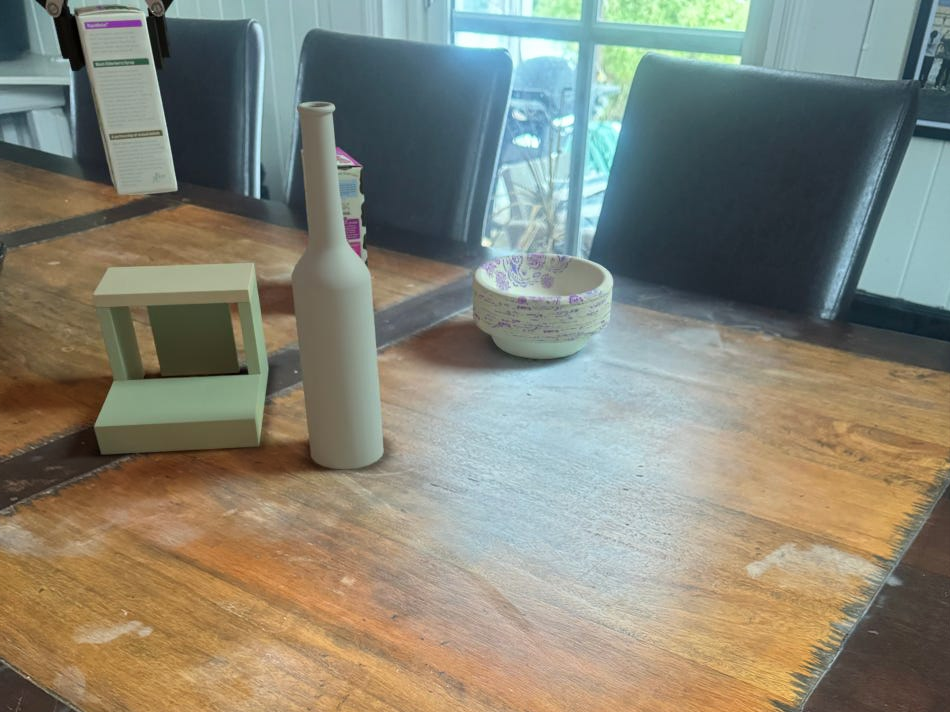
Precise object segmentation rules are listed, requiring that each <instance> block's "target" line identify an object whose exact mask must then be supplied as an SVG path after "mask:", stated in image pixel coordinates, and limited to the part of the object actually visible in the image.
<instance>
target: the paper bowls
mask: <svg viewBox="0 0 950 712" xmlns="http://www.w3.org/2000/svg"><path fill="white" fill-rule="evenodd" d="M613 287H614V279H613V275H612V274H611V272H610V271H609V270H608V269H607V268H605V267H604V266H603V265H601V264H599V263H597V262H594V261H592V260H589V259H586V258H582V257H578V256H574V255H568V254H562V253H561V254H560V253H550V252H549V253H547V252H532V253H531V252H529V253H518V254H510V255H504V256H500V257H495V258H493V259H490V260H488V261H485V262H483V263H482V264H480V265H479V266H478V267H477V268H476V269H475V271H474V273H473V275H472V319H473V322H474V324H475V325H476V327H477V328H479V330H481V331H482V332H484V333H486V334H487V335H490V336H491V339H492V340H493V342H494V343H495V345H496V346H497V348H499V349H500V350H501V351H503V352H505V353H507V354H509V355H512V356H515V357H519V358H523V359H532V360H552V359H560V358H566V357H569V356H571V355H574V354H576V353H578V352H579V351H580V350H581V349H583V348H584V347H585V346H586V344H587V343H588V341H589V340H590V338H591V337H594V336H596V335H597V334H599V333H601V332H603V331H604V330H605V329H606V328H607V327H608V326H609V323H610V320H611V311H612V302H613V301H612V300H613Z"/></svg>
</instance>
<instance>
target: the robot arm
mask: <svg viewBox="0 0 950 712" xmlns="http://www.w3.org/2000/svg"><path fill="white" fill-rule="evenodd" d="M34 1H35V2H36V3H38V4H39V6H41V7H42V8H43V9H44V10H45V11H46V13H47V14H48V15H49V17H52V19H53V23H54V29H55V33H56V35H57V41H58V46H59V49H60V54H61V56H62V59H63V60H68V62H69V67H70V70H71V71H72V72H79V71H81V70H82V69H83V68H84V67H86V65H85V60H84V56H83V51H82V46H81V42H80V37H79V32H78V28H77V23H76V18H75V15H74V14H73V13H71V9H70V7H69V6H68V4H69V0H34ZM144 2H145V4H146V6H147V15H148V16H147V17H146V23H147V28H148V34H149V39H150V44H151V49H152V55H153V60H154V65H155V69H156V70H157V71H164V70H165V69H166V67H167V59H170V58H172V48H171V42H170V36H169V30H168V23H167V18H166V12H167V11H168V9H169V8H170V6H171V5H172V3H173V2H174V0H144Z"/></svg>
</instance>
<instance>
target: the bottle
mask: <svg viewBox="0 0 950 712" xmlns="http://www.w3.org/2000/svg"><path fill="white" fill-rule="evenodd" d="M296 110H297V112H298V113H299V122H300V131H301V132H300V133H301V141H302V149H303V154H304V165H305V175H306V186H307V203H308V221H307V227H308V226H309V233H308V244H307V246H306V248H305V250H304V252H303V253H302V255H301V256H300V258H299V259H298V261H297V262H296V263H295V264H294V267H293V270H292V272H291V279H290V280H291V287H292V297H293V305H294V306H293V307H294V315H295V324H296V332H297V343H298V352H299V362H300V370H301V378H302V386H303V389H302V390H303V397H304V407H305V415H306V426H307V432H308V441H309V450H310V456H311V457H310V458H311V459H312V460H313V461H314V462H315V463H316V464H318V465H320V466H322V467H325V468H329V469H334V470H352V469H361V468H364V467H367V466H370V465H372V464H374V463H376V462H377V461H379V460H380V459H381V458H382V457H383V455H384V452H385V451H384V435H383V433H384V432H383V420H382V419H383V417H382V407H381V406H382V404H381V391H380V377H379V366H378V353H377V339H376V327H375V325H376V324H375V315H374V314H375V312H374V311H375V310H374V301H373V288H372V287H373V286H372V275H371V271H370V270H369V267H368V268H367V266H366V264H365V263H364V261H363V260H362V259H361V258H360V257H359V256H358V255H357V254H356V253H355V251H354V250H353V249H352V248H351V246H350V245H349V244H348V242H347V239H346V234H345V227H344V220H343V213H342V206H341V198H340V191H339V181H338V170H337V159H336V148H335V147H336V138H335V126H334V116H333V113H334V112H335V111H336V107H335V104H334V103H332V102H327V101H306V102H302V103H298V105H296Z"/></svg>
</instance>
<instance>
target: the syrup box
mask: <svg viewBox="0 0 950 712" xmlns="http://www.w3.org/2000/svg"><path fill="white" fill-rule="evenodd" d="M73 13H74V14H73V15H74V16H75V18H76V23H77V28H78V32H79V37H80V42H81V46H82V51H83V56H84V60H85V68H86V73H87V77H88V82H89V87H90V92H91V95H92V100H93V103H94V108H95V109H94V110H95V112H96V117H97V122H98V126H99V130H100V136H101V140H102V144H103V148H104V149H103V150H104V153H105V158H106V163H107V166H108V170H109V175H110V181H111V183H112V184H113V187H114V189H115V191H116V193H117V195H119V196H138V195H139V196H141V195H151V194H163V193H170V192H177V191H178V182H177V177H176V172H175V166H174V160H173V154H172V149H171V142H170V138H169V132H168V127H167V122H166V117H165V111H164V106H163V101H162V94H161V90H160V85H159V81H158V75H157V71H156V70H157V69H156V68H155V65H154V60H153V55H152V49H151V44H150V39H149V34H148V28H147V23H146V18H147V17H146V14H145V12H144V11H143V10H142V9H141V8H139V7H137V5H131V4H116V3H115V4H96V5H87V6H82V7H81V6H80V7H74V8H73Z"/></svg>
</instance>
